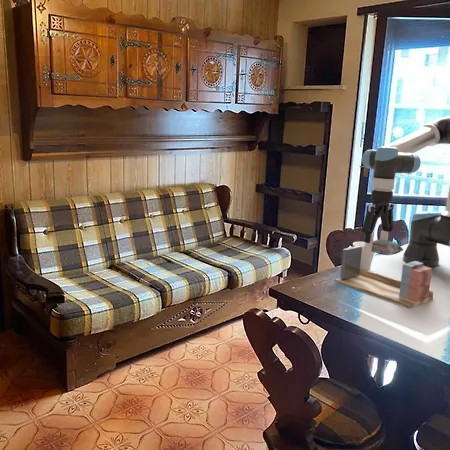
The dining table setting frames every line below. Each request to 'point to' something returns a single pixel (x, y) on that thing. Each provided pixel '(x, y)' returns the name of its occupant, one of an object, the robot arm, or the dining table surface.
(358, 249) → the bookend
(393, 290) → the wooden book rack
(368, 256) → the cup
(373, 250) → the packaged food
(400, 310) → the dining table surface
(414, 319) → the dining table surface
